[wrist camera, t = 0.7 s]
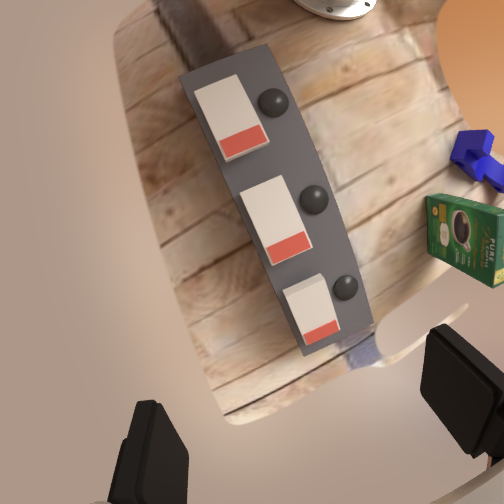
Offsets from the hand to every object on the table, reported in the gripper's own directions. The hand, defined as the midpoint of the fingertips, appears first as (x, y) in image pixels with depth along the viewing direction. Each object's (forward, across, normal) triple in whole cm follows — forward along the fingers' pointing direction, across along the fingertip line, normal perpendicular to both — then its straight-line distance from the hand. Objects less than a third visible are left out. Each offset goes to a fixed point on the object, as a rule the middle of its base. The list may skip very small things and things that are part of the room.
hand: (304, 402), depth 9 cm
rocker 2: (+21, -3, -1) cm, 22 cm away
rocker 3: (+21, -5, +8) cm, 23 cm away
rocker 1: (+21, -1, -11) cm, 24 cm away
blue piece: (+26, -34, -2) cm, 43 cm away
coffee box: (+26, -24, +4) cm, 36 cm away
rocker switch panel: (+26, -4, -2) cm, 26 cm away
